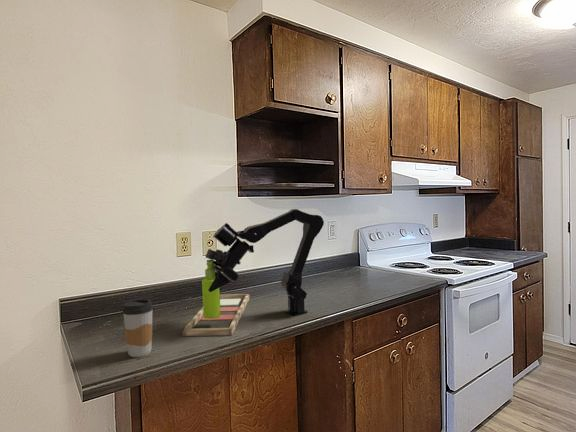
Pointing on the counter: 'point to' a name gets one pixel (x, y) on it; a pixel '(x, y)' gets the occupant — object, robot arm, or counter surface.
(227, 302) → the pad
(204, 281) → the soap dispenser
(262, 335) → the counter surface
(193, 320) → the frame
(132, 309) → the coffee cup
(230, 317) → the mats
